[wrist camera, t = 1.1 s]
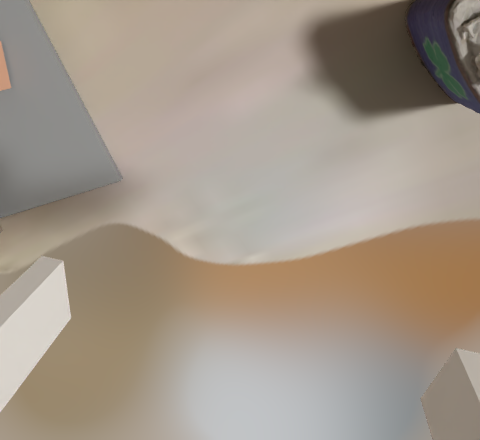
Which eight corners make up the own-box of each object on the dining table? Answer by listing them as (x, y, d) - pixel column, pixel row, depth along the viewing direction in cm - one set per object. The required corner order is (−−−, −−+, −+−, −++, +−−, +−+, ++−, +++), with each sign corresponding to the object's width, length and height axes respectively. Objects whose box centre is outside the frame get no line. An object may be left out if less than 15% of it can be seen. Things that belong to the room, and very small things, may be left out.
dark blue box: (486, 89, 29) (570, 122, 20) (450, 112, 30) (513, 153, 21) (430, -15, 26) (498, -31, 17) (393, 15, 28) (437, 14, 18)
